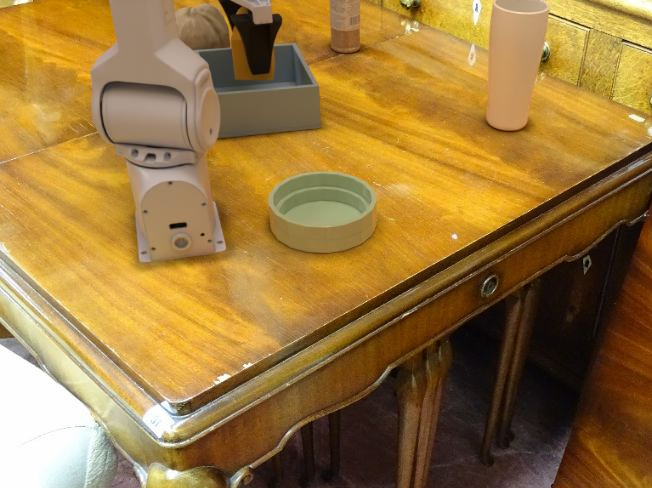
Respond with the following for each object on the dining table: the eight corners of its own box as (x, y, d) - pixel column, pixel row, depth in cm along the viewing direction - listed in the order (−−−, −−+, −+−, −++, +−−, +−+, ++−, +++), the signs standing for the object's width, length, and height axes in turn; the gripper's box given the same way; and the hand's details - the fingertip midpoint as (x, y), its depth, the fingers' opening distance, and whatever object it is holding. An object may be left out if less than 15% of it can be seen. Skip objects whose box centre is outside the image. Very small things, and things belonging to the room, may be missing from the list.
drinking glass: (539, 133, 97) (558, 12, 88) (488, 136, 96) (501, 14, 87) (523, 110, 102) (539, -7, 93) (474, 113, 101) (485, -6, 92)
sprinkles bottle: (350, 41, 119) (348, -53, 110) (366, 50, 116) (366, -45, 107) (324, 46, 117) (321, -49, 108) (340, 56, 114) (338, -41, 105)
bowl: (389, 248, 76) (389, 218, 74) (281, 264, 73) (278, 233, 71) (361, 194, 84) (361, 166, 82) (262, 207, 81) (259, 177, 79)
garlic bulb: (229, 79, 112) (246, 10, 107) (215, 93, 104) (233, 20, 100) (164, 54, 110) (179, -16, 105) (146, 68, 103) (161, -8, 98)
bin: (320, 128, 96) (319, 85, 92) (212, 139, 92) (206, 95, 89) (298, 82, 106) (295, 42, 102) (199, 91, 102) (193, 50, 99)
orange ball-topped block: (275, 66, 98) (270, -1, 93) (273, 80, 94) (268, 12, 89) (238, 65, 97) (231, -2, 92) (235, 80, 94) (227, 11, 89)
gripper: (193, -70, 90) (209, 46, 99) (220, -35, 80) (235, 90, 89) (253, -73, 93) (263, 40, 101) (287, -39, 83) (294, 83, 91)
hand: (253, 63), depth 95 cm, fingers closed on orange ball-topped block, 5 cm apart
